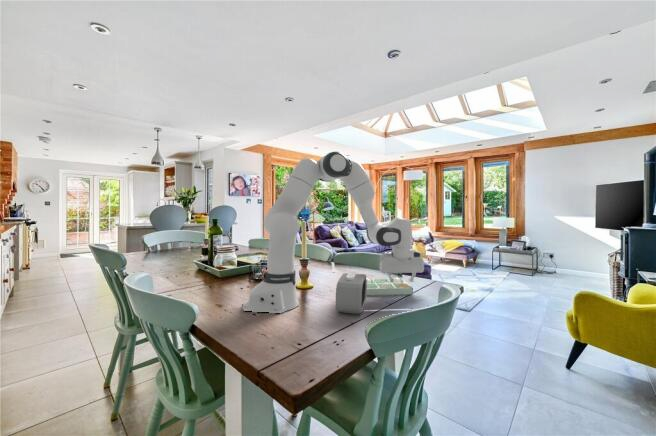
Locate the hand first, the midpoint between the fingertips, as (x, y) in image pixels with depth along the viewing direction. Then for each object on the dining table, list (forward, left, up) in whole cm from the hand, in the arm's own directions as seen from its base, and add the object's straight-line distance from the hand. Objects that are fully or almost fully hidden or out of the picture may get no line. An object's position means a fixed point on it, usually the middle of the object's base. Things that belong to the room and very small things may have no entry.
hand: (401, 281), depth 129 cm
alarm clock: (-25, -16, -6) cm, 31 cm away
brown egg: (0, 0, -4) cm, 4 cm away
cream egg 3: (0, +8, -5) cm, 9 cm away
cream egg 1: (-15, +8, -5) cm, 17 cm away
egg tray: (-7, +4, -5) cm, 10 cm away
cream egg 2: (-7, 0, -5) cm, 9 cm away
